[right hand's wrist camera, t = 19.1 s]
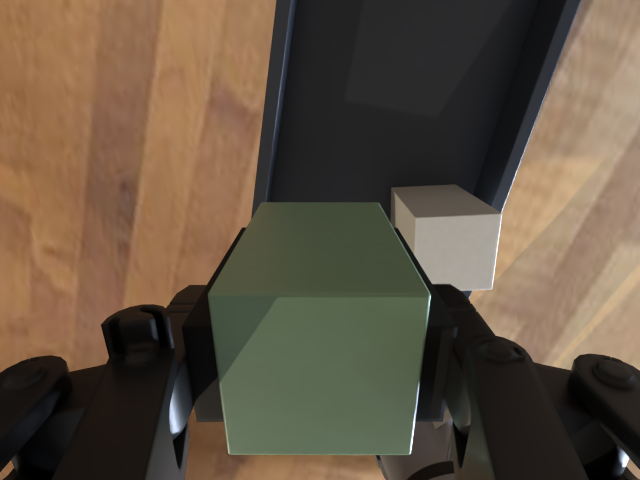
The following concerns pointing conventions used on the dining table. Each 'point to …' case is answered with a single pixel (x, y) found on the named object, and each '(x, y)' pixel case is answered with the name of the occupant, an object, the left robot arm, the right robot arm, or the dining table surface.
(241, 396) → the sage block
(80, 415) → the right robot arm
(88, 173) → the dining table surface
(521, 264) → the dining table surface
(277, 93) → the tray
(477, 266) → the cream block
